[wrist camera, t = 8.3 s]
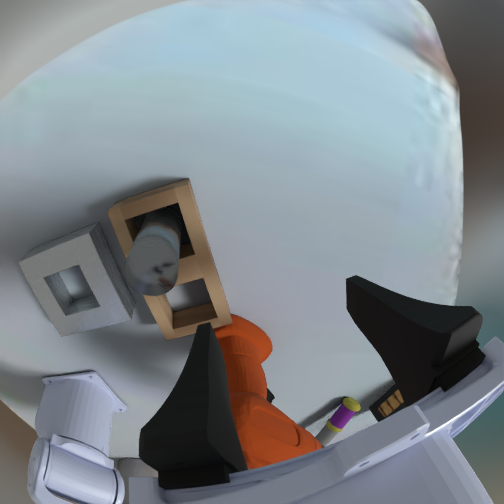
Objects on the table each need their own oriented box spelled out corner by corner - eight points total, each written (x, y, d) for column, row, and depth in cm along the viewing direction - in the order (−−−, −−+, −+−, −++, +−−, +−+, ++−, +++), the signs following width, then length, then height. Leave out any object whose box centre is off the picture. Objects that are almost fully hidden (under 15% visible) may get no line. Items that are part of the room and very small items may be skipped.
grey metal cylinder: (150, 247, 21) (134, 300, 15) (139, 212, 20) (116, 254, 13) (185, 238, 22) (184, 289, 15) (176, 202, 20) (169, 240, 14)
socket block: (68, 321, 22) (61, 336, 20) (30, 250, 19) (18, 262, 17) (135, 303, 23) (131, 319, 21) (98, 222, 19) (88, 233, 17)
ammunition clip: (373, 408, 42) (401, 455, 32) (368, 407, 42) (396, 456, 31) (414, 370, 40) (449, 415, 29) (410, 368, 39) (446, 415, 28)
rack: (228, 306, 25) (232, 322, 23) (167, 323, 25) (166, 340, 22) (189, 177, 20) (188, 183, 18) (115, 202, 19) (107, 211, 17)
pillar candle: (150, 476, 41) (155, 534, 27) (109, 463, 36) (109, 526, 23) (176, 466, 39) (185, 532, 26) (131, 452, 35) (134, 525, 22)
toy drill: (304, 402, 33) (337, 496, 19) (192, 329, 27) (182, 464, 13) (333, 382, 32) (378, 475, 18) (226, 298, 26) (239, 437, 12)
